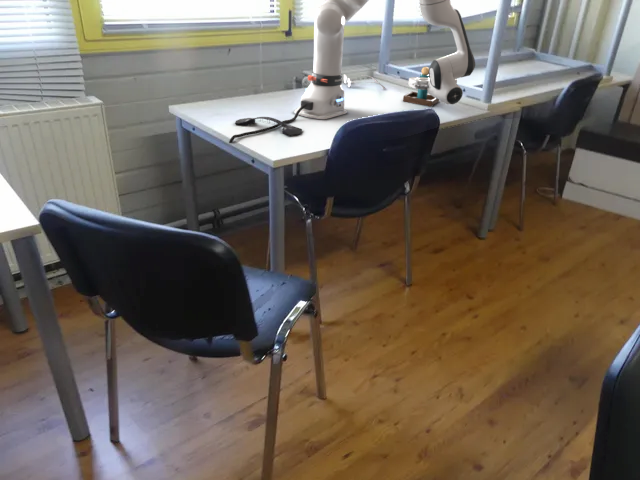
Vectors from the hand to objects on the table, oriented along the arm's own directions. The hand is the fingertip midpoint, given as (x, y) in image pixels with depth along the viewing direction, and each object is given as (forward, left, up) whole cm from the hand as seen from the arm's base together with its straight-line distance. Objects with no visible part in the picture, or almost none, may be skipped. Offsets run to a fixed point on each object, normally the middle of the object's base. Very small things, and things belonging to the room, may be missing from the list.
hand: (424, 79), depth 241 cm
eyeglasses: (+10, +33, -10) cm, 36 cm away
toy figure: (0, 0, -9) cm, 9 cm away
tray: (0, 0, -10) cm, 10 cm away
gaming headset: (-78, +30, -10) cm, 85 cm away
